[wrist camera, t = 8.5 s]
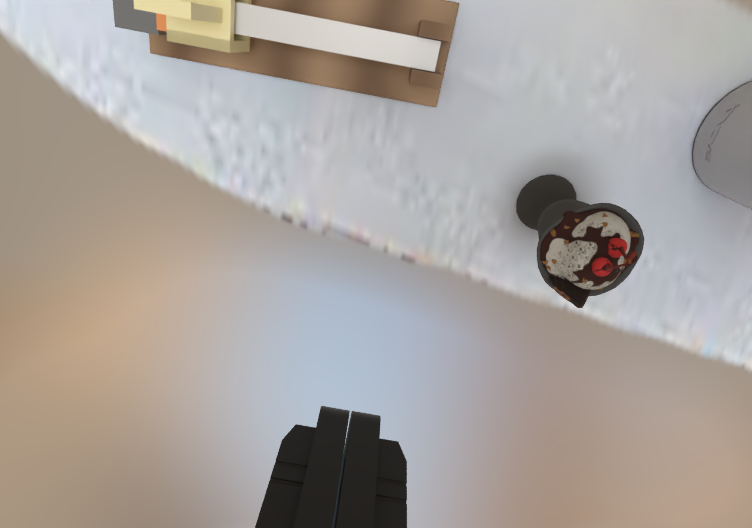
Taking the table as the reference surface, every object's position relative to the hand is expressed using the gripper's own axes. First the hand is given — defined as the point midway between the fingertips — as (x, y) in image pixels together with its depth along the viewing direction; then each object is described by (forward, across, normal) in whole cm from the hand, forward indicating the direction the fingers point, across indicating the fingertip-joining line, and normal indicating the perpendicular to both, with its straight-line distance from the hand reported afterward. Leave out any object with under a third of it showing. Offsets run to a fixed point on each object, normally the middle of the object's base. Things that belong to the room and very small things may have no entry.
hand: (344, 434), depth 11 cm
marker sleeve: (+26, +13, -8) cm, 31 cm away
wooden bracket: (+29, +8, -8) cm, 31 cm away
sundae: (+29, -14, +1) cm, 32 cm away
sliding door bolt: (+28, +8, -8) cm, 30 cm away
